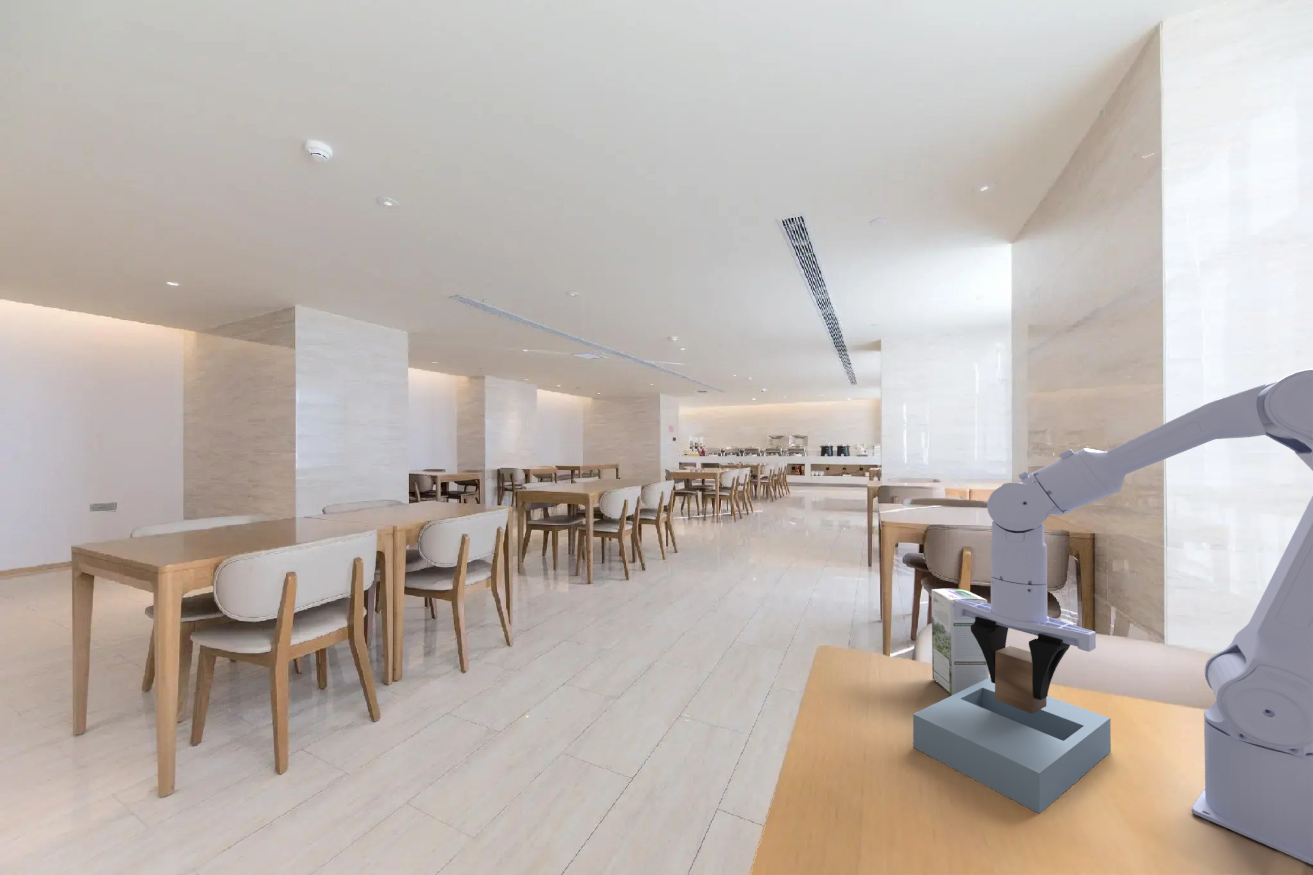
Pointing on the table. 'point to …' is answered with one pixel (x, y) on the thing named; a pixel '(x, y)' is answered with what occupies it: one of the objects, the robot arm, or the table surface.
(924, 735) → the well stand
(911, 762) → the table surface
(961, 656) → the syrup box
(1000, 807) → the table surface
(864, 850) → the table surface
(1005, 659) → the walnut block
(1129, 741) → the table surface
